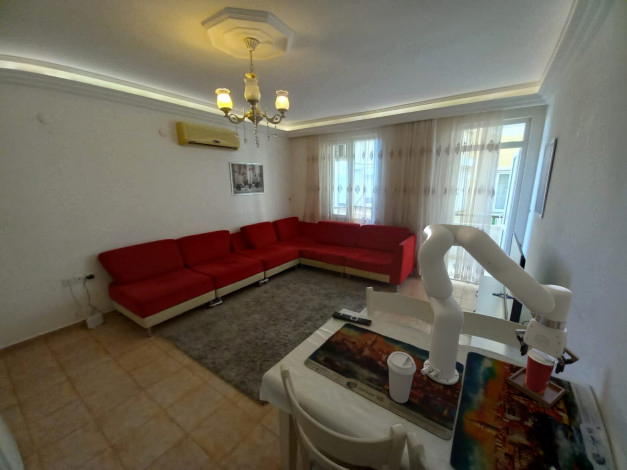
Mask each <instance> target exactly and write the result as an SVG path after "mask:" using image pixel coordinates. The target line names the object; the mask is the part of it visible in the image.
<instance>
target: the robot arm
mask: <svg viewBox="0 0 627 470" xmlns="http://www.w3.org/2000/svg"><path fill="white" fill-rule="evenodd" d="M422 238H423V240H424V242H423V243H422V244H421V245H420V248H419V250H418V253H417V261H418V265H419V268H420V272H421V277H420V278H421V283H422V286H423V289H424V292H425V294H426V297H427V300H428V302H429V305H430V307H431V310H432V313H433V314H434V315H433V316H434V317H433V318H434V320H433V322H432V326H431V331H430V342H429V352H428V359H426V360H424V362H423V368H421V369H420V373H421V375H422V376H428V377H429V378H430V379H431V380H433V381H434V382H437V383H439V384H442V385H448V386H450V385H455V384H457V383H458V382H459V379H460V374H459V372H458V370H457V369H456V367H457V358H458V351H459V344H460V337H461V332H462V328H463V326H464V323H465V314H464V311H463V309H462V307H461V305H460V304H459V302H458V301H457V299H455V297H454V294H453V291H454V290H453V289H454V287H453V283H452V280H451V278H450V275H449V272H448V270H447V267H446V262H445V256H446V254H447V253H448V252H449V250H450V249H451V248H452V247H461V248H463V250H465V251H466V252H467V253H468V254H469V255H470V256H471V257H472V258H473V259H474V260H475V262H476V263H478V264H479V266H481V267H482V269H484V270H485V271H486V272H487V273H488V274H489V275H490V276H491V277H492V278H493V279H494V280H496V281H497V282H498V283H500V284H501V285H503V286H504V287H505V288H506V289H508V291H509V293H510V295H511V296H512V297H513V298H514V299H515V300H516V301H517V302H519V303H520V304H521V305H522V306H524V307H525V308H526V309H527V310H529V311H530V315H532V316H533V317H532V318H531V319H530V320H529V322H528V324H527V327H526V329H515V330H514V333H515V336H516V339H517V340H518V342H519V345H520V348H519V351H520V356H521V357H524V356H526V355H528V354H527V352H528V351H529V347H531V348H535V349H537V350H539V351H541V352H543V353H545V354H547V355H550V356H552V357H554V358H555V359H556V361H558V362H557V364H556V365H555V370H554V373H555V374H556V375H558V374H560V373H564V371H565V367H566V366H567V365H568V366H569V365H573V364H575V363H577V362H578V361H580V359H581V357H580V356H578V355H577V354H576V353H575V352H574V351H573V350H572V349H570V348H569V347H568V328H566V326H567V325H566V324H567V320H568V316H569V312H570V308H571V303H572V301H573V296H574V295H573V292H572V291H571V290H570V289H569V288H567V287H563V286H561V285H555V284H541V283H540V282H538V281H537V280H536V279H535V278H534V277H533V276H532V275H531V274H529V272H527V271H526V270H525V269H524V268H523V267H522V266H521V265H520V264H519V263H518V262H517V261H516V260H515V259H513V258H512V257H511V256H510V255H509V254H508V253H507V252H506V251H505V250H504V249H503V248H502V247H501V246H500V245H499V244H498V243H497V242H496V241H495V240H494V239H493V238H492V237H491V236H490V235H489V234H488V233H487V232H485V231H484V230H482V229H480V228H477V227H475V226H472V225H467V224H466V225H465V224H464V225H463V224H448V223H431V224H429V225H427V226H426V227H424V229H423V231H422ZM523 335H524V336H523ZM565 354H567V355H568V356H569V357H570V358H566V356H565Z"/></svg>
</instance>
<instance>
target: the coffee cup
mask: <svg viewBox="0 0 627 470" xmlns="http://www.w3.org/2000/svg"><path fill="white" fill-rule="evenodd" d="M386 361H387V362H386V363H387V364H386V365H387V366H388V387H389V388H388V389H389V390H388V391H389V396H390V398H391V399H392V400H393V401H395V402H397V403H400V404H405V403H407V402H408V401H409V399H410V394H411V389H412V383H413V380H414V375H415V372H416V371H417V365H416V362H415V361H414V358H413V357H412V356H411V355H410V354H409V353H407V352H404V351H392V352H391V354H389V355H388V358H387V359H386Z"/></svg>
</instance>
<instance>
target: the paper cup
mask: <svg viewBox="0 0 627 470" xmlns="http://www.w3.org/2000/svg"><path fill="white" fill-rule="evenodd" d="M526 355H527V361H526V367H525V368H526V376H525V385H526V386H527V387H528V388H529V389H530V390H532V391H534V392H536V393H540V394H543V393H545V391H546V388H547V386H548V383H549V381H550V380H551V377H552V374H553V371H554V368H555V366H556V365H557V363H558V362H557V359H556V358H554V357H552V356H550V355H547V354H545V353H543V352H541V351H539V350H537V349H535V348H533V347H531V348H530V349H528V351H527V354H526Z"/></svg>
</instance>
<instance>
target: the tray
mask: <svg viewBox="0 0 627 470" xmlns="http://www.w3.org/2000/svg"><path fill="white" fill-rule="evenodd" d="M526 368H527V367H525V366H524V367H522V368H521V369H519V370H517V371H516V372H515V373H513V374H512V375H510V376H509V377H507V381H506V383H507V384H509V385H510V386H512V387H514V388H515V389H517V390H518V391H520V392H521V393H523V394H525V395H526V396H528V397H529V398H531V399H533V400H534V401H535V402H537V403H539V404H541V405H542V406H543V407H545V408H546V409H551V408H552V407H553V406H554V405H555V404H556V403H557V402H558V401H559V400H560V399H561V398H562V397H563V396H564V395H565V393H566V389H564V388H563V387H561V386H559V385H557V384H556V383H554V382H552V381H550V380H549V383H548V386H547V388H546V391H545V393H543V394H540V393H536V392H534V391H532V390H530V389H529V388H528V387H527V386H526V385H525V376H526Z"/></svg>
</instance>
